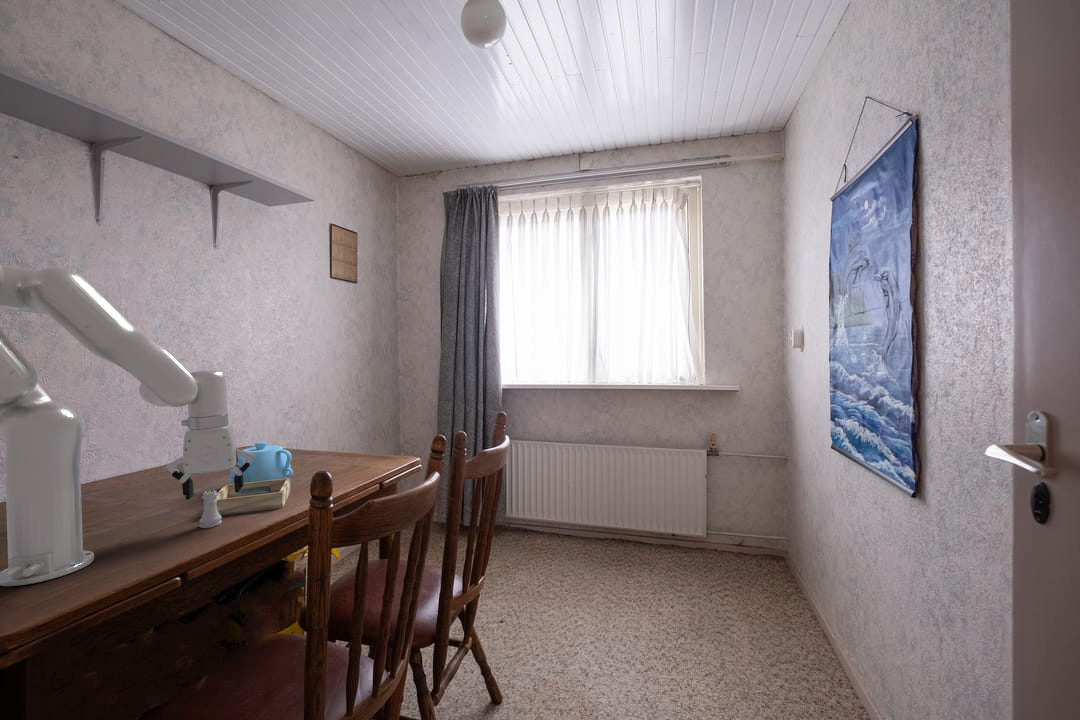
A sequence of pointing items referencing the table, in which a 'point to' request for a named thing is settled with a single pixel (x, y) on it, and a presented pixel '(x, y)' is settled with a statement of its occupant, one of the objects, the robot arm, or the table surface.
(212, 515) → the rook chess piece
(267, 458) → the decorative pot
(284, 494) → the beech box
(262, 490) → the socket
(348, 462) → the table surface
